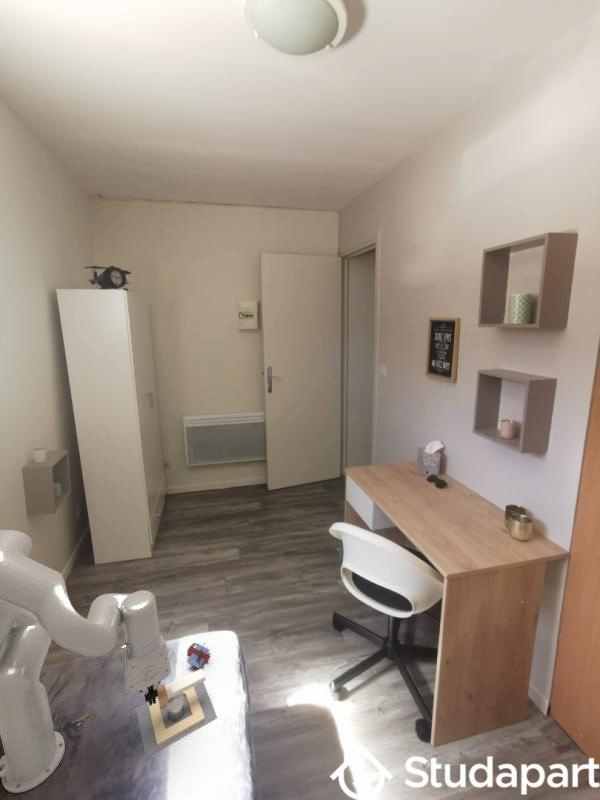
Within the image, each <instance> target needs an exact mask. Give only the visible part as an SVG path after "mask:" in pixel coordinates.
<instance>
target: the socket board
mask: <svg viewBox="0 0 600 800" xmlns="http://www.w3.org/2000/svg"><path fill="white" fill-rule="evenodd" d="M204 682H205V681H203V682H201V683H199V684H198V685H196V686H194V687H192V688H190V689H188V690H186V691H184V692H183V698H184V709H185V712H184V715H183V717H182V718H181V719H180V720H178V721H175V722H172V721H170V720H169V719H168V716H167V707H166V704H165V705H164V706H162V707H160V705H159V701H158V697H155V698H156V703H155V704H153V701H152V705H151V706H150V705H149V701H147V702H145V703H144V704H142V705H139V706H138V707H135V710H136V716H137V723H138V726H139V731H140V736H141V737H140V738H141V742H142V746H143V750H144V751H143V753H144V757H145V759H148V758H149V757H151V756H153V755H154V754H156V753H158V752H160V751H162V750H163V749H165V748H167V747H168V746H171V745H172V744H174V743H175V742H178V741H179V740H181V739H183V738H185V737H187V736H188V735H190V734H192V733H194V732H196V731H198V729H200V728H203V727H204V726H206V725H208V724H210V723H211V722H213V721H214V720H216V719H218V716H217V714H216V712H215V708H214V706H213V703H212V701H211V698H210V695H209V693H208V691H207V688H206V685H205V683H204Z"/></svg>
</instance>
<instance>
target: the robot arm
mask: <svg viewBox="0 0 600 800" xmlns="http://www.w3.org/2000/svg"><path fill="white" fill-rule="evenodd" d="M32 542H33V541H32V539H31V537H30V536H29V535H28V534H27V533H25V532H22V531H21V530H20V531H19V530H14V529H0V739H1V743H2V747H3V751H4V755H2V756H1V758H0V769H1V770H0V778H1V782H2V786H3V787H4V789H5V790H6V791H8V792H10V793H13V794H16V793H17V794H20V793H23V792H24V793H25V792H27V791H30V790H32V789H34V788H37V786H39V785H40V784H42V783H43V782H44V781H46V779H48V778H49V777H50V776H51V775H52V774H53V773H54V771H55V770H56V769H57V768H58V767H59V765H60V763H61V761H62V760H63V756H64V755H65V749H66V747H65V746H66V744H65V740H64V737H63V735H62V734H61V733H60V732H58V731H55V729H54V723H53V719H52V713H51V709H50V708H51V707H50V704H49V698H48V694H47V690H46V687H45V685H44V684H42V683H41V682H40V675H41V670H42V668H43V665H44V662H45V659H46V657H47V655H48V652H49V649H50V646H51V645H52V644H51V643H52V641H53V642H54V643H56V644H57V645H58V646H60V647H62V648H63V649H66V650H68V651H71V652H73V653H75V654H77V655H82V656H85V657H89V658H90V657H91V658H97V657H98V658H99V657H102V656H105V655H107V654H108V653H110V652H111V651H112V650H113V649H114V647H115V646H116V644H117V642H118V639H119V635H120V630H121V626H123V628H124V635H125V642H124V643H123V644H122V645H119V648H120V652H121V653H122V652H124V663H123V665H124V666H123V668H124V677H125V684H126V685H125V691H126V694H130V695H131V694H136V693H138V692H139V693H142V694H143V695H144V701H145V703H148V702H149V705H150V706H151V705H152V701H153V704H155V703H156V698H158V697H157V696H158V692H157V689H158V686H159V685H160V683H162V681H163V680H165V679H166V678H168V677H169V676H170V675H171V673H172V669H171V663H170V657H169V652H168V648H167V645H166V644H167V643H166V642H165V639H164V637H163V635H162V634H161V633H160V627H159V625H160V624H159V618H158V610H157V609H158V608H157V600H156V596H155V594H154V593H153V592H151V591H149V590H145V589H144V590H143V589H142V590H137V591H135V592H132V593H118V592H117V593H113V592H112V593H104V594H103V593H102V594H100V595H99V596H97V597H96V598H95V599H94V600H93V601H92V603H91V605H90V607H89V611H88V615H87V618H85V617H84V616H82V614H80V613H78V611H77V610H76V609H75V608H74V607H73V604H72V603H71V601H70V599H69V594H68V591H67V586H66V581H65V579H64V576H63V575H62V573H61V572H59V571H57V570H55V569H53V568H50V567H48V566H46V565H44V564H42V563H40V562H37V561H36V560H34V559H31V558H30V557H28V556H29V555H30V554H31V551H32V548H33V543H32Z"/></svg>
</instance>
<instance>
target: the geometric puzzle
mask: <svg viewBox="0 0 600 800" xmlns="http://www.w3.org/2000/svg"><path fill="white" fill-rule="evenodd" d="M201 644H203V642H199V643H194V642H193V643H192V644H190V646H189V647H188V648H187V651H186V652H187V662H186V663H187V664H188V665H192V666H193V667H194V668H195V667H196V669H198V670H199V669H201V668H202V669H203V667H204V664H209V661H210V658H211V653H210V651H211V650H210V649H209V648H208V647H205V646H207V644H206V643H204V644H203V645H201ZM204 645H205V646H204Z"/></svg>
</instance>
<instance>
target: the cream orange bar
mask: <svg viewBox="0 0 600 800" xmlns="http://www.w3.org/2000/svg"><path fill="white" fill-rule="evenodd" d="M200 668H201V669H199V668H198V669H196V671H194V672H193V671H192V672H191V673H189V674H187V675H185V676H183V677H181V678H178V680H175V681H172V682H171V683H169V684H167V685H165V683H164V682H163V683H161V684H159V685H158V689H157V692H158V696H157V697H156V698H158V701H159V705H160V707H162V706H164V705H165V704H167V703H168V699H170V698H172V697H174V696H176V695H178V694H180V693H182V692H184V691H186V690H188V689H190V688H192V687H194V686H196V685H198V684H199V683H201V682H205V681H206V676H205V675H206V674H205V673H204V671H203V668H202V667H200Z"/></svg>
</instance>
